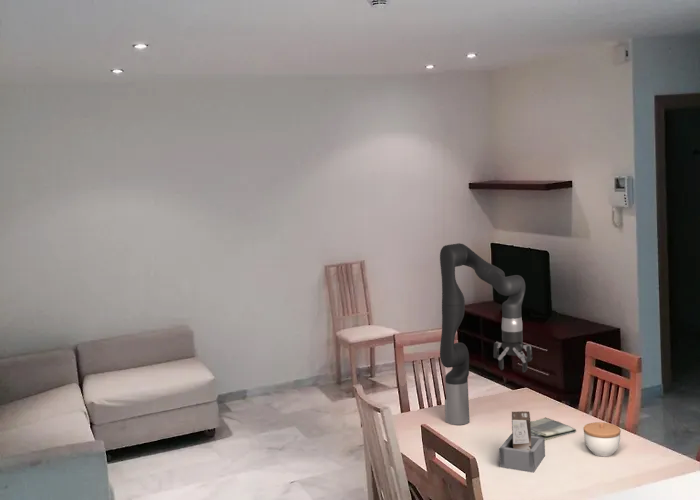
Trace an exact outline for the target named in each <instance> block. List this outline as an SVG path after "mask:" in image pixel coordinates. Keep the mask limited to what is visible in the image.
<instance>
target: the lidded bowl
mask: <svg viewBox="0 0 700 500" xmlns="http://www.w3.org/2000/svg"><path fill="white" fill-rule="evenodd" d="M583 436H584V437H583V438H584V441H585V442H584V443H585V444H586V447H587V448H588V449H589V450H590V452H591V453H592V454H593V455H595V456H599V457H611V456H613V455H614V453H615V452H616V451H617V450H618V448H619V447H620V442H621V428H620V427H619V426H618V425H616V424H613V423H609V422H601V421H599V422H590V423H587V424H585V425H584V426H583Z"/></svg>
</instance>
